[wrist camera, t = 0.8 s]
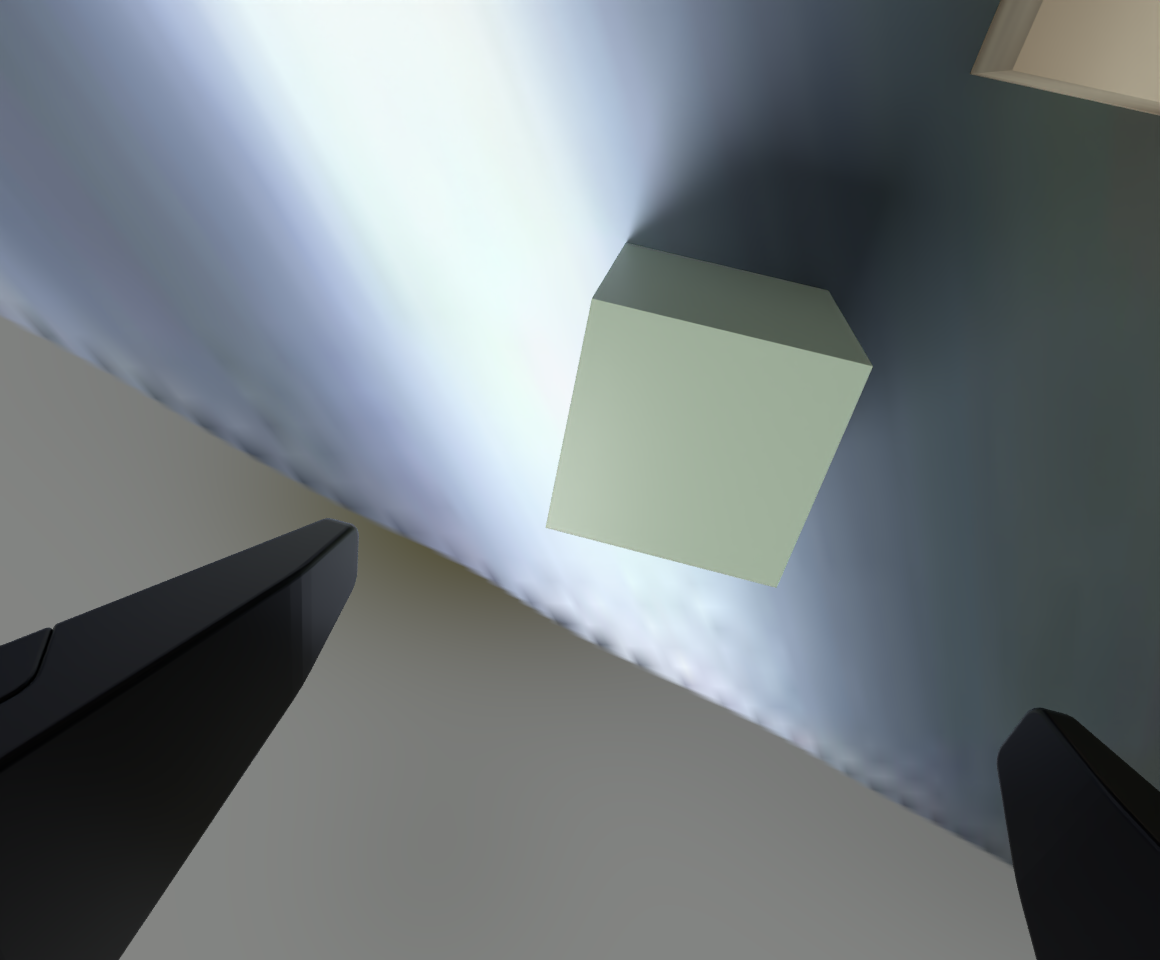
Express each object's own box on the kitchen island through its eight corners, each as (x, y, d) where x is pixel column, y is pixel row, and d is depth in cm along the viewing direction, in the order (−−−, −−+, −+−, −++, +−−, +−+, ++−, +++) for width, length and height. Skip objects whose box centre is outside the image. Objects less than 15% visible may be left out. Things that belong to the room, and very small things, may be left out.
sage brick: (827, 289, 18) (872, 366, 13) (761, 466, 21) (776, 587, 16) (626, 242, 19) (592, 298, 13) (586, 423, 21) (545, 527, 16)
